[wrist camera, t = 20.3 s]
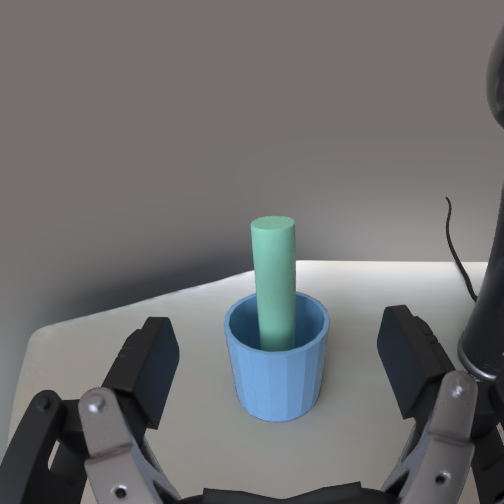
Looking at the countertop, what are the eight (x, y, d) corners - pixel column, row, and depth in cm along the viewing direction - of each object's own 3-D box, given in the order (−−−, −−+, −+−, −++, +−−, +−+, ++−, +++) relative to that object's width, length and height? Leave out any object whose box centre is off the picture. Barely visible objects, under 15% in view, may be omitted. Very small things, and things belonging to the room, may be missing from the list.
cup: (285, 349, 29) (284, 280, 26) (336, 390, 23) (350, 319, 19) (222, 382, 26) (206, 313, 22) (269, 436, 19) (264, 373, 16)
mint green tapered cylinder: (281, 370, 26) (276, 213, 19) (299, 386, 24) (304, 222, 17) (258, 383, 24) (242, 222, 18) (275, 401, 22) (268, 233, 16)
